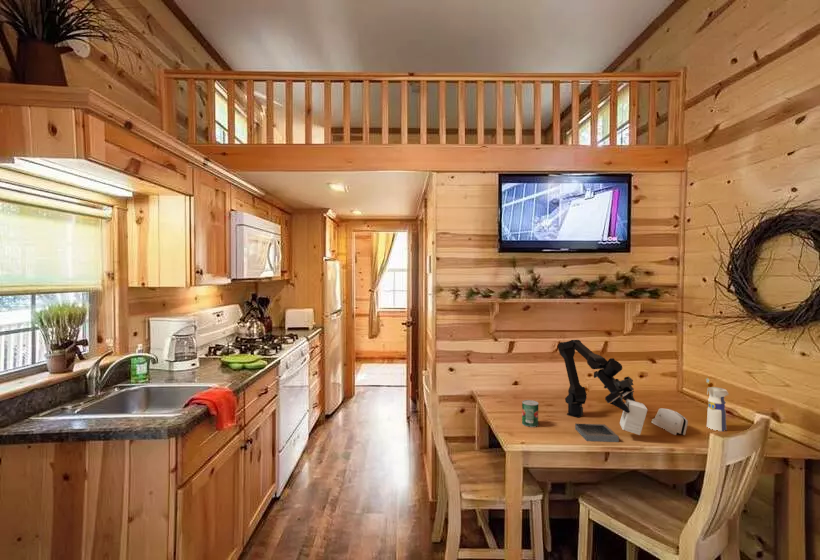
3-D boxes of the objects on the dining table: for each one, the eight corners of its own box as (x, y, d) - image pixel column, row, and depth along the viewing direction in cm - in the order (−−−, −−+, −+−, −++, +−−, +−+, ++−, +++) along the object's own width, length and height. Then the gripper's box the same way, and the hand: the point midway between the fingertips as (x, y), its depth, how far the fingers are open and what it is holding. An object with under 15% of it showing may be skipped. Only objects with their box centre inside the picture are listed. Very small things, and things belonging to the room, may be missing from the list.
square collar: (575, 428, 187) (575, 423, 187) (604, 429, 186) (604, 424, 186) (586, 440, 173) (586, 435, 173) (618, 442, 172) (618, 436, 172)
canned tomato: (519, 421, 197) (519, 400, 197) (534, 421, 197) (534, 399, 197) (525, 427, 189) (525, 405, 189) (541, 427, 189) (541, 404, 189)
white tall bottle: (719, 432, 184) (720, 380, 184) (701, 426, 192) (702, 376, 192) (732, 430, 186) (732, 379, 186) (713, 424, 194) (714, 374, 194)
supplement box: (636, 428, 179) (643, 403, 178) (640, 435, 172) (648, 409, 171) (618, 423, 181) (626, 398, 180) (622, 429, 174) (630, 404, 173)
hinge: (650, 422, 197) (657, 403, 197) (658, 425, 197) (665, 406, 197) (675, 435, 180) (682, 415, 180) (684, 438, 181) (691, 418, 181)
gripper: (612, 374, 174) (639, 405, 165) (629, 368, 186) (655, 396, 177) (594, 387, 180) (619, 418, 172) (612, 381, 192) (636, 409, 183)
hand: (633, 410), depth 176 cm, fingers closed on supplement box, 9 cm apart
